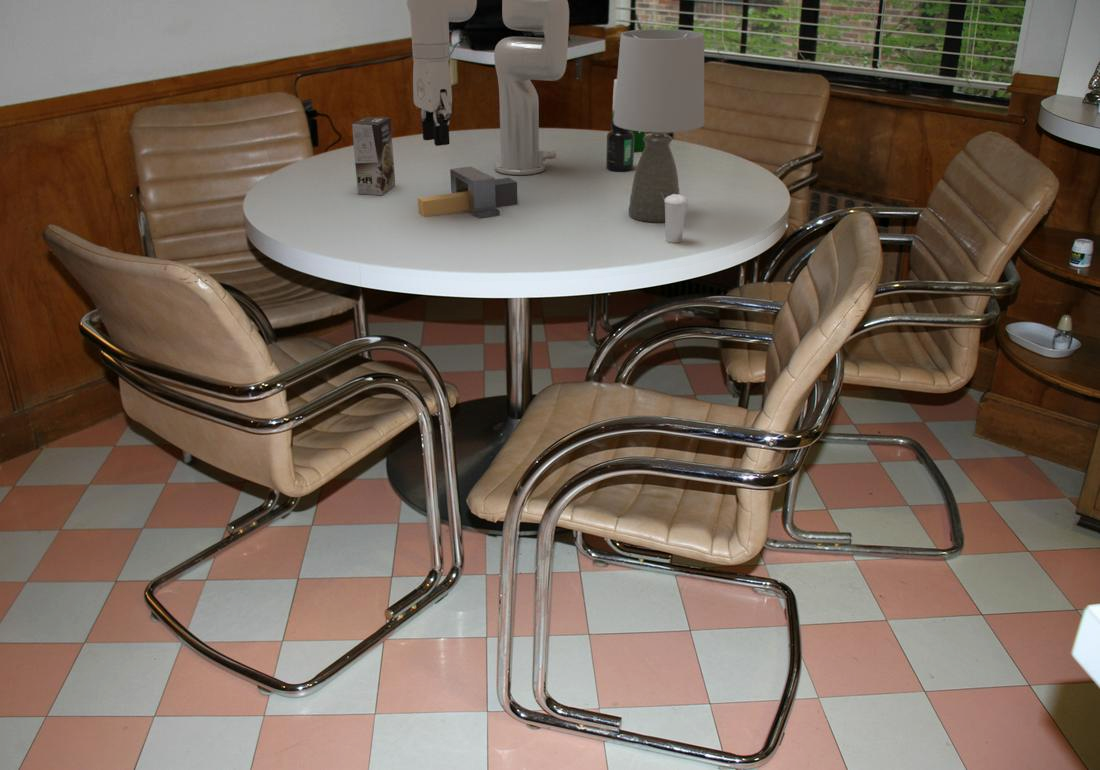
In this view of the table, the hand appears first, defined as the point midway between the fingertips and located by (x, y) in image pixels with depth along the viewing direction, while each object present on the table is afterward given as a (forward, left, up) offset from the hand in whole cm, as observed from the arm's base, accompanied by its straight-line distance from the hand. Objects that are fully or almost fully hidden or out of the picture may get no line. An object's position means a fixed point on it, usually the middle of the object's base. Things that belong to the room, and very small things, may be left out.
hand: (436, 141), depth 208 cm
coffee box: (+5, -25, -16) cm, 30 cm away
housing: (-8, 0, -15) cm, 17 cm away
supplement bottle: (-55, -13, -16) cm, 59 cm away
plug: (-7, 0, -16) cm, 17 cm away
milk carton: (-69, -30, -16) cm, 77 cm away
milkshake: (-32, +41, -16) cm, 54 cm away
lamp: (-39, +25, -16) cm, 49 cm away
